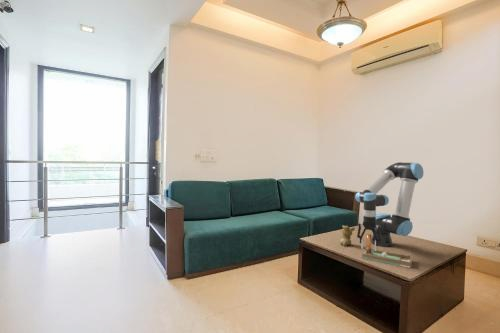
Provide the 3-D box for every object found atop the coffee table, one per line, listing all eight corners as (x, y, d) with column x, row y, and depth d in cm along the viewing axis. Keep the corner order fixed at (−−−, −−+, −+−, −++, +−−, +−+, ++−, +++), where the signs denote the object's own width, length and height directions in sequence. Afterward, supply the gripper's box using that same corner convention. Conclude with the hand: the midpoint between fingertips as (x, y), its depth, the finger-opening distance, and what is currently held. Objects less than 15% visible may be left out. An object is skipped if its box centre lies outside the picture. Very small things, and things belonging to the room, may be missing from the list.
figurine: (350, 242, 208) (351, 223, 207) (355, 246, 200) (355, 226, 199) (338, 242, 208) (338, 223, 207) (342, 246, 199) (342, 226, 199)
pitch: (365, 252, 188) (365, 247, 187) (412, 261, 172) (412, 255, 172) (362, 258, 177) (362, 252, 176) (411, 268, 161) (411, 262, 161)
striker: (366, 252, 184) (366, 233, 183) (373, 253, 181) (374, 234, 181) (364, 254, 179) (365, 235, 178) (372, 256, 176) (372, 236, 176)
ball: (381, 255, 178) (381, 250, 178) (387, 257, 176) (387, 251, 176) (380, 257, 175) (381, 252, 175) (386, 258, 173) (387, 253, 173)
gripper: (352, 215, 182) (351, 248, 183) (385, 219, 171) (384, 254, 172) (354, 213, 188) (354, 245, 189) (387, 216, 177) (386, 250, 178)
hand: (368, 249), depth 180 cm, fingers open, 8 cm apart
